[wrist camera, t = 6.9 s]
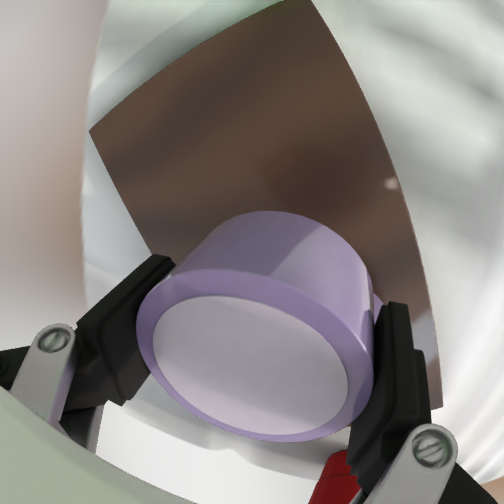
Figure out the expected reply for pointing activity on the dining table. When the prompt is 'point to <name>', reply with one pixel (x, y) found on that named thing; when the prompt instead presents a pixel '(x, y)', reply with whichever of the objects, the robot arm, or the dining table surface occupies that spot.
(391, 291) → the board
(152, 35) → the dining table surface
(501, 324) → the dining table surface
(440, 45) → the dining table surface
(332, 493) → the plastic cup
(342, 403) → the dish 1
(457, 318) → the dining table surface
